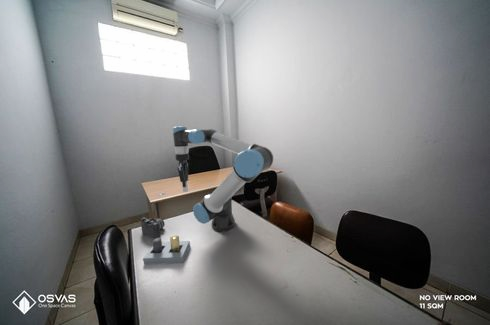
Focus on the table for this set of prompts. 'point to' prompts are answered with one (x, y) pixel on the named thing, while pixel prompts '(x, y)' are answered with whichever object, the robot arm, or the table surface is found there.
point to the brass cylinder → (175, 244)
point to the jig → (165, 252)
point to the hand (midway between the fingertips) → (185, 191)
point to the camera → (152, 227)
